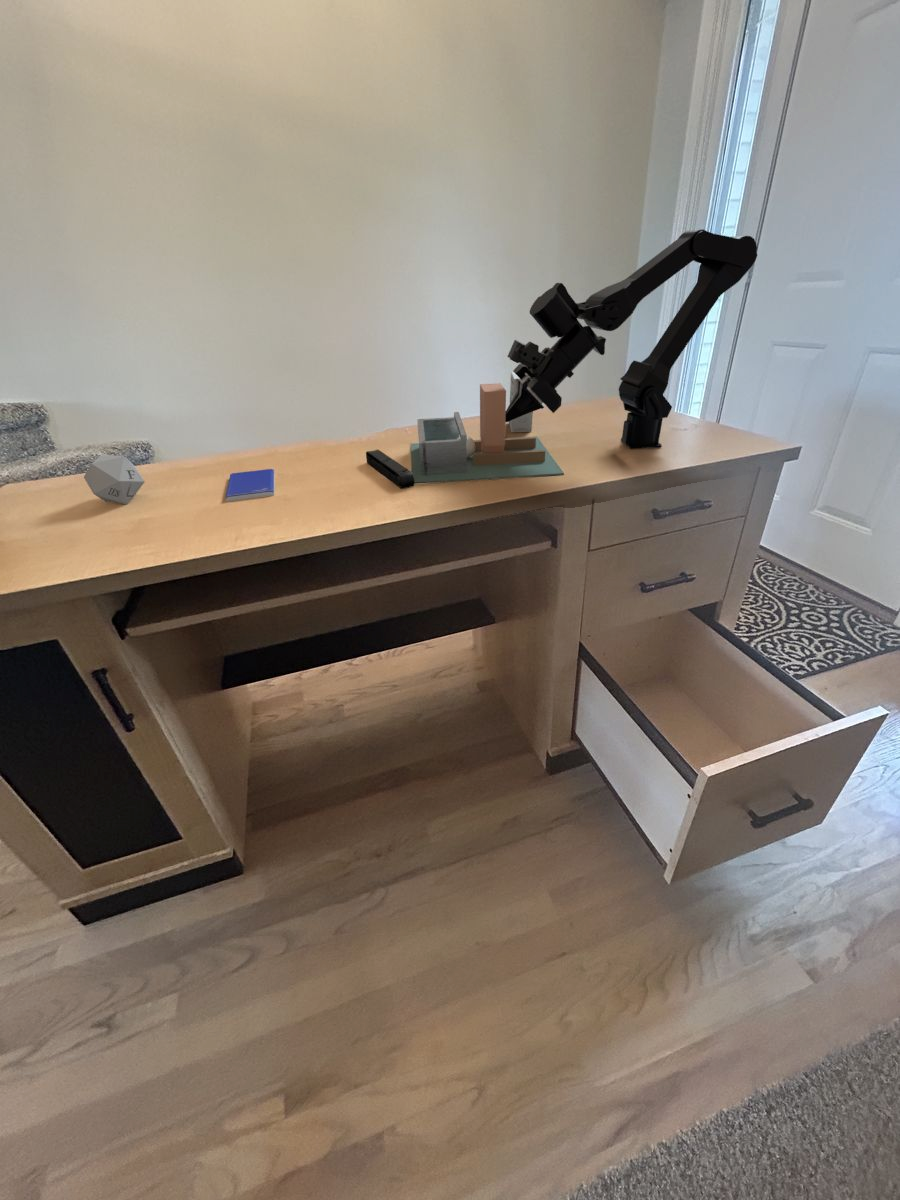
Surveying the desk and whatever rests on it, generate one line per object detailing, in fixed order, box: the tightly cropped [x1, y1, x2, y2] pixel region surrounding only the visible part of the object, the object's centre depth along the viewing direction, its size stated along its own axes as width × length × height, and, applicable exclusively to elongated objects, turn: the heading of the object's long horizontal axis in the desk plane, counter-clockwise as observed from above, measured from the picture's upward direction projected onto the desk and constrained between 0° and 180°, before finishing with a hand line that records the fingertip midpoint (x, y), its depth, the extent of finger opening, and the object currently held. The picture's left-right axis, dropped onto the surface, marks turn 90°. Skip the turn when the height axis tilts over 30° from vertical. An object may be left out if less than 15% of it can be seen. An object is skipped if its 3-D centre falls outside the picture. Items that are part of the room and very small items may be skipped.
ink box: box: [508, 371, 534, 433], centre depth 122 cm, size 9×5×12 cm, turn 179°
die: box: [83, 454, 145, 505], centre depth 93 cm, size 8×9×10 cm
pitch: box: [410, 435, 565, 485], centre depth 106 cm, size 28×24×2 cm
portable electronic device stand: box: [365, 449, 415, 490], centre depth 100 cm, size 18×3×3 cm, turn 29°
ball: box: [457, 435, 476, 458], centre depth 105 cm, size 4×4×4 cm
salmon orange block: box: [479, 382, 507, 453], centre depth 103 cm, size 4×7×13 cm, turn 4°
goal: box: [416, 411, 468, 475], centre depth 104 cm, size 9×17×7 cm, turn 4°
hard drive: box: [225, 468, 276, 503], centre depth 98 cm, size 2×8×12 cm
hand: (504, 420), depth 103 cm, fingers closed, pressing on salmon orange block
